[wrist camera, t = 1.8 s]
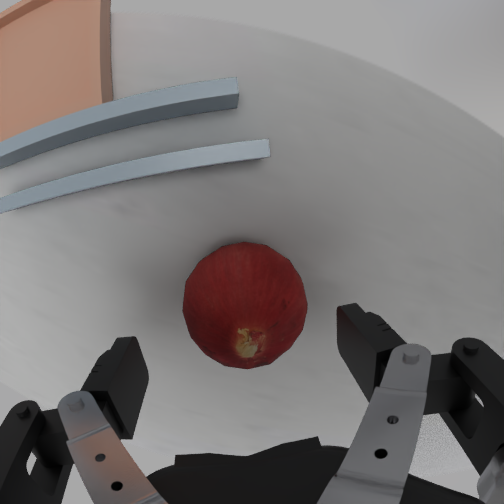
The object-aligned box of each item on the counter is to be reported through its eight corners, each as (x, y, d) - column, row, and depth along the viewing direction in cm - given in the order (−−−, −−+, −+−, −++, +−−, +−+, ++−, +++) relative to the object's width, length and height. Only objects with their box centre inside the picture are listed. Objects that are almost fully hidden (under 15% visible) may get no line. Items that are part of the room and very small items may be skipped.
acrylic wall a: (260, 144, 16) (268, 138, 13) (262, 158, 17) (270, 156, 13) (15, 196, 16) (-18, 204, 13) (17, 208, 16) (-15, 218, 13)
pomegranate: (297, 311, 19) (335, 395, 12) (206, 331, 19) (196, 422, 11) (281, 219, 18) (320, 260, 10) (180, 241, 18) (146, 298, 10)
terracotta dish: (111, -24, 13) (103, -36, 11) (113, 109, 15) (102, 103, 14) (-6, 31, 12) (-19, 25, 10) (-10, 154, 15) (-27, 155, 13)
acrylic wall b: (235, 94, 16) (236, 77, 12) (237, 108, 16) (239, 93, 12) (0, 157, 15) (-33, 158, 12) (1, 168, 15) (-32, 171, 12)
